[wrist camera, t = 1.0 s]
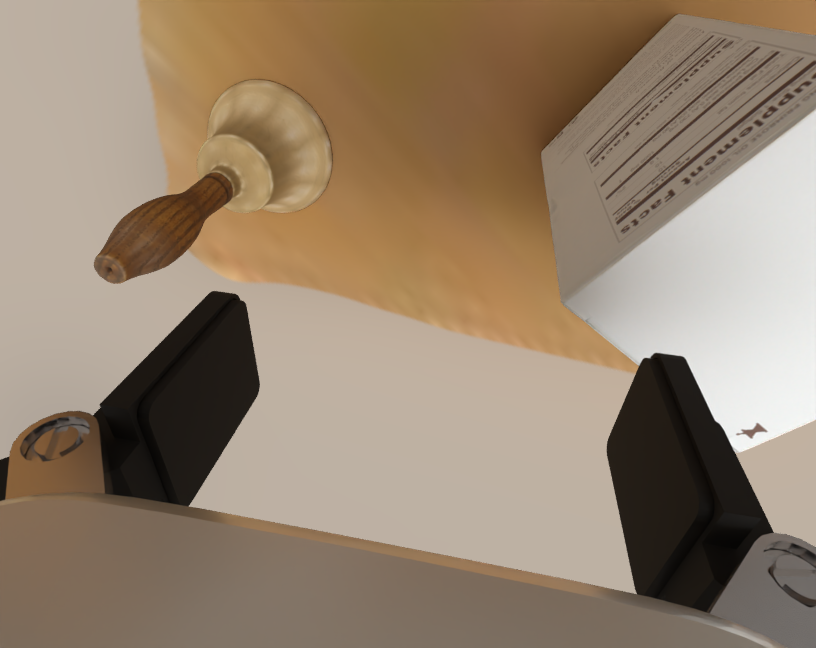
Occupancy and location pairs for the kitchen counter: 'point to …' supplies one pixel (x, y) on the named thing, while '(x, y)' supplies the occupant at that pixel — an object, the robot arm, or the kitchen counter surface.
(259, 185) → the hand bell
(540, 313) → the kitchen counter surface
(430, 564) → the robot arm
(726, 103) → the supplement box
